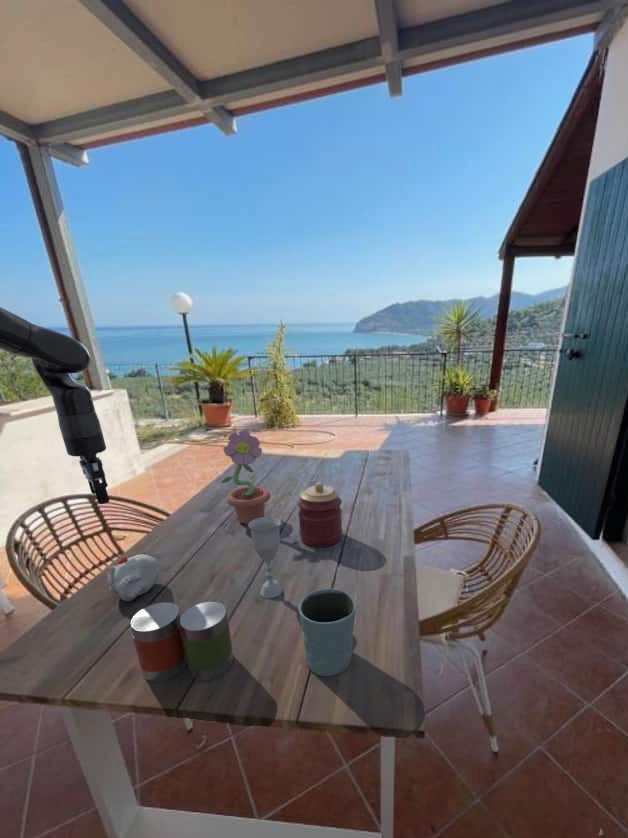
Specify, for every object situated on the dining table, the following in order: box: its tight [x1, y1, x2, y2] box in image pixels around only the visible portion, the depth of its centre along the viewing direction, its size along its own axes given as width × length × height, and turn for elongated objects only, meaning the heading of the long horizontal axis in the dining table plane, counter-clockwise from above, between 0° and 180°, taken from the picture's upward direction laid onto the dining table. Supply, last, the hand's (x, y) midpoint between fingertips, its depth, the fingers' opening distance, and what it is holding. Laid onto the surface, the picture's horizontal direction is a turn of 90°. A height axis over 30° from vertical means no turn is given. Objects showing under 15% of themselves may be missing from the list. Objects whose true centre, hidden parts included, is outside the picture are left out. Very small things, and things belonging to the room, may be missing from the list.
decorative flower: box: [220, 430, 271, 525], centre depth 125 cm, size 15×14×30 cm
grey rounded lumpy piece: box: [107, 552, 160, 602], centre depth 93 cm, size 9×11×15 cm
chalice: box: [247, 516, 283, 599], centre depth 90 cm, size 7×7×18 cm
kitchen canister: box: [297, 482, 343, 548], centre depth 115 cm, size 13×13×18 cm
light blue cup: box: [298, 588, 357, 677], centre depth 71 cm, size 10×10×12 cm
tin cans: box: [130, 601, 234, 683], centre depth 70 cm, size 16×8×11 cm, turn 91°
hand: (100, 497), depth 94 cm, fingers open, 8 cm apart
